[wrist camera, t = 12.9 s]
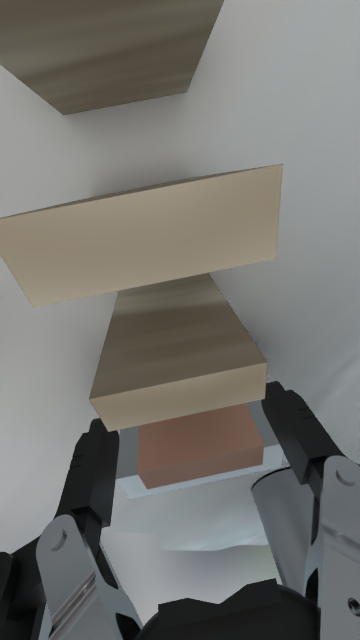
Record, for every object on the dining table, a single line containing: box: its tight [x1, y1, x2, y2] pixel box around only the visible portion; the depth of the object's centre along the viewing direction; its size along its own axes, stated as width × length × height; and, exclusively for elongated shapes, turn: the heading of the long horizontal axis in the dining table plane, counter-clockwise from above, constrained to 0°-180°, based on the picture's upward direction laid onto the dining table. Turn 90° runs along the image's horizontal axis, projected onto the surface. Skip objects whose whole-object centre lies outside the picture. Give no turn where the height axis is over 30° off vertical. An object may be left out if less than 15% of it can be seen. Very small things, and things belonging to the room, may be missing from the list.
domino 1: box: [0, 0, 224, 115], centre depth 5 cm, size 2×5×8 cm, turn 99°
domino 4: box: [137, 403, 264, 490], centre depth 12 cm, size 2×5×8 cm, turn 100°
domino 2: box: [0, 164, 283, 308], centre depth 7 cm, size 2×5×8 cm, turn 99°
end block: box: [115, 400, 284, 500], centre depth 16 cm, size 3×10×6 cm, turn 99°
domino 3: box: [89, 273, 268, 432], centre depth 10 cm, size 2×5×8 cm, turn 99°
